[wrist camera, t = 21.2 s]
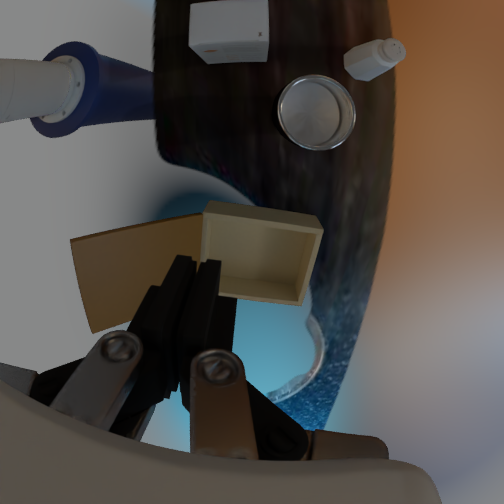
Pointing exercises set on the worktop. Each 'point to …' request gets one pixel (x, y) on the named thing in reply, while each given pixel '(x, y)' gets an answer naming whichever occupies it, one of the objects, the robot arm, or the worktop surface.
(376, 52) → the pepper shaker
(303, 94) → the beer glass
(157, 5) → the worktop surface
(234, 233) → the open cream tray
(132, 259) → the cover
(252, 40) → the small box
